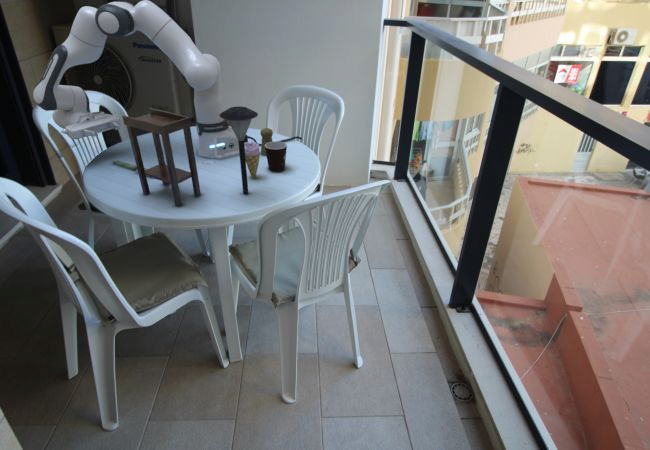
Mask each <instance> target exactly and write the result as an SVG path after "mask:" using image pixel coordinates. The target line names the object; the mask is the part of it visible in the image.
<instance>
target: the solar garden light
mask: <svg viewBox="0 0 650 450" xmlns="http://www.w3.org/2000/svg"><path fill="white" fill-rule="evenodd" d="M219 116H220V118H222V119H225V120H227V121H228V123H229V124H230V126H229V127H230V128H232V130H233V132H234V133H235V135H236V137H237V139H238V143H239V164H240V175H241V185H242V186H241V187H242V194H243V195H244V196H247V195H249V183H248V172H247V171H248V170H247V164H246V159H245V147H244V138H245V136H246V135H247V132H248V130H249V127H250V125H251V123H252V120H253V119H255V118H257V117H258V116H259V113H258V112H257V111H254V110H253V109H251V108H249V107H246V106H232V107H228V108H227V109H225V110H223V112H222V113H221V114H220V115H219Z"/></svg>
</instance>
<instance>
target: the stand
mask: <svg viewBox="0 0 650 450" xmlns="http://www.w3.org/2000/svg"><path fill="white" fill-rule="evenodd" d="M148 109H149V113H147V114H143V115H140V116H136V117H132V116H127V115H122V116H121V117H122V120H123V124H124V126H126V129H127V133H128V137H129V142H130V145H131V149H132V153H133V157H134V161H135V166H137V170H138V173H137V174H138V178H139V181H140V185H141V191H142V194H143V195H145V196H148V195H150V194H151V190H150V187H149V182H148V178H150V177H152V178H151V179H154V180H157V181H160V182H162V185H163V186H165V187H167V186H169V185H170V186H171V191H172V195H173V200H174V206H175V207H178V208H180V207H181V206H183V202H182V201H183V200H182V197H181V192H180V186H179V184H182V182H185V181H187V180H190V179H191V183H192V184H191V185H192V189H193V195H194V197H197V198H198V197H200V196H202V192H201V187H200V182H199V175H198V174H199V173H198V168H197V167H198V166H197V162H196V156H195V150H194V141H193V136H192V131H191V127H192V118H191V116H186V115H182V114H179V113H174V112H169V111H165V110H160V109H157V108H153V107H149V108H148ZM136 129H139V130H142V131H146V132H150V133H151V135H152V140H153V144H154V150H155V154H156V158H157V159H156V160H157V163H158V164H157V165H153V166H152V167H150V168H149V167H148V168H145V165H144V161H143V157H142V153H141V149H140V148H141V147H140V145H139V140H138V136H137V132H136ZM182 130H183V136H184V137H183V138H184V143H185V149H186V155H187V160H188V165H189V171H188V170H185V169H181V168H178V167H176V165H175V159H174V155H173V149H172V144H171V139H170V134H173V133H176V132H178V131H182ZM160 136H161V137H160ZM162 146H163V147H162ZM163 150H164V151H163ZM144 168H145V169H147V170H145V169H144ZM147 176H149V177H147Z"/></svg>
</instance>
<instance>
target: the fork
mask: <svg viewBox="0 0 650 450" xmlns="http://www.w3.org/2000/svg"><path fill="white" fill-rule="evenodd" d="M111 162H112V164H113V165H116V166H119V167H121V168H124V169H128V170H131V171H135V173H136V174H138V170H137V166H136V165H134V164H131V163H127V162H124V161H121V160H118V159H114V160H112V161H111ZM144 169H145V170H147V169H148V168H145V167H144ZM146 178H150V179H153V178H152V177H149V176H146Z"/></svg>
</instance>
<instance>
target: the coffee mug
mask: <svg viewBox="0 0 650 450" xmlns="http://www.w3.org/2000/svg"><path fill="white" fill-rule="evenodd" d="M278 141H279V140H278ZM278 141H277V140H276V141H273V142H269V143H266V144H265V150H266V156H265V157H266V160H267V161H266V162H267V167H268V170H269V171H270V172H271V173H282V172H284V171H285V170H286V159H287V148H288V145H287V142H285V141H284V142H278Z"/></svg>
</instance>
